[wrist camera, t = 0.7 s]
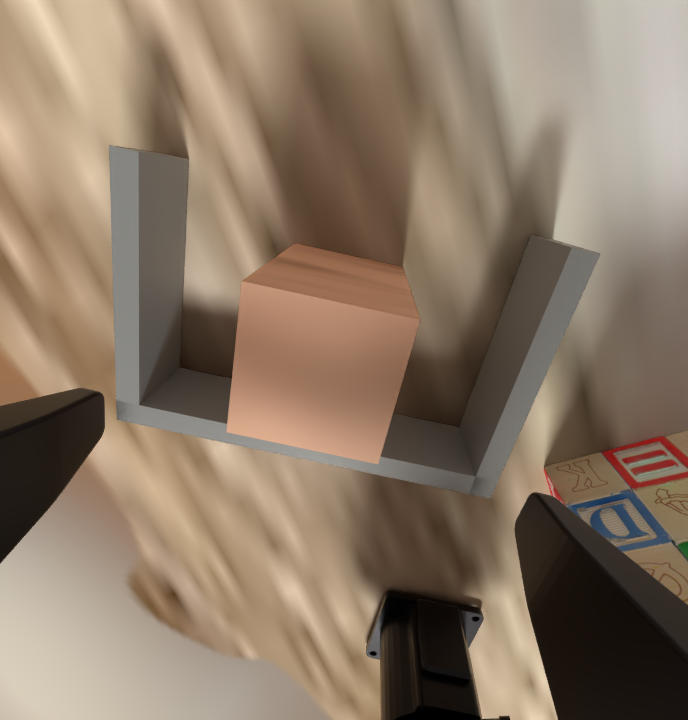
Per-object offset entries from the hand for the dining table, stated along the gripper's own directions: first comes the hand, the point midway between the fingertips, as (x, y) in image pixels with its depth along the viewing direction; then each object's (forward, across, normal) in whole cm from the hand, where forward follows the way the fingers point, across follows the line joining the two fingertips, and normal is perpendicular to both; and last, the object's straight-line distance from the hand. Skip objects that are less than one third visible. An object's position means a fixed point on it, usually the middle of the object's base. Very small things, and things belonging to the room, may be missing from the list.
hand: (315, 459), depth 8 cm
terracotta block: (+12, 0, 0) cm, 12 cm away
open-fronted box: (+12, 0, 0) cm, 12 cm away
